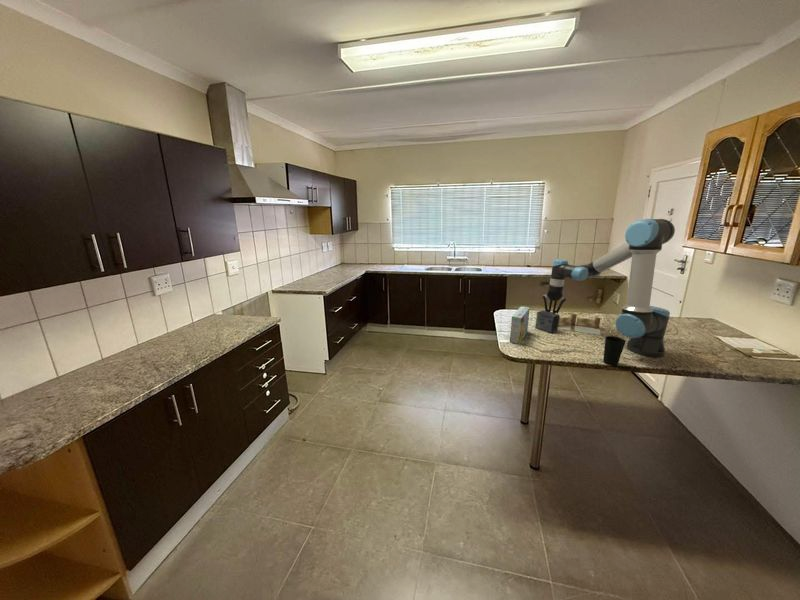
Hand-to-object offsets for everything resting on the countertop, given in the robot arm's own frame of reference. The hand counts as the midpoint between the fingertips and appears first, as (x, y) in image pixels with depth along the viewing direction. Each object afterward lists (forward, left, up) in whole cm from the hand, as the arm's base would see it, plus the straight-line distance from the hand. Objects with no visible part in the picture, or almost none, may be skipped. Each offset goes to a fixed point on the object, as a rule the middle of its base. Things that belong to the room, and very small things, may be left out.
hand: (549, 322), depth 189 cm
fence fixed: (-19, -8, -2) cm, 21 cm away
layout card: (-13, -5, -2) cm, 14 cm away
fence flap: (-7, -2, -1) cm, 7 cm away
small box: (+1, +8, -2) cm, 9 cm away
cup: (-28, +40, -2) cm, 49 cm away
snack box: (+14, +27, -2) cm, 31 cm away
